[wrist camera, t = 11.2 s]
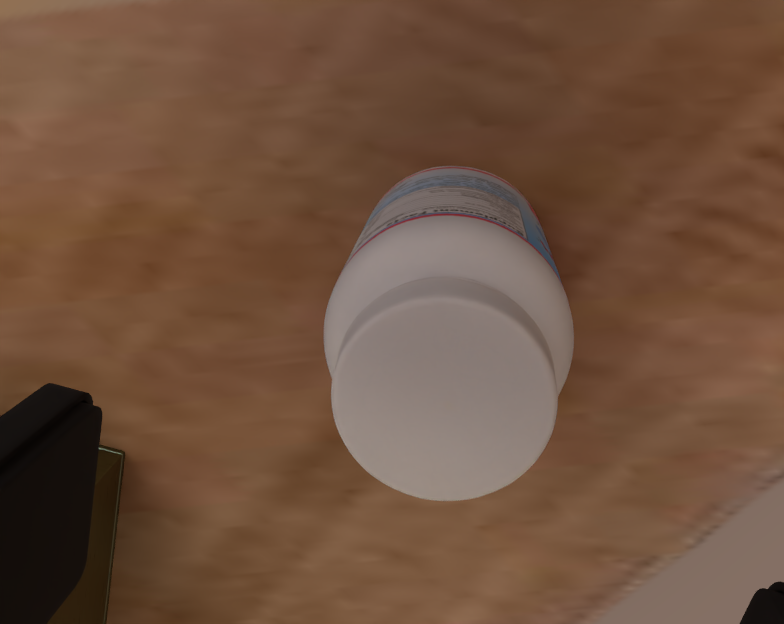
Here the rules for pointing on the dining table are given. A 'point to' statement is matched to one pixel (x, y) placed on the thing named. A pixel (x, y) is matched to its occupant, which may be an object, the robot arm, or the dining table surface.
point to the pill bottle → (448, 337)
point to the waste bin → (97, 546)
